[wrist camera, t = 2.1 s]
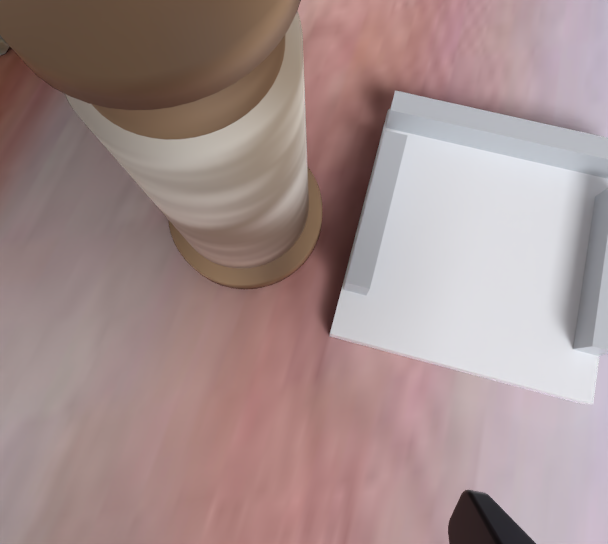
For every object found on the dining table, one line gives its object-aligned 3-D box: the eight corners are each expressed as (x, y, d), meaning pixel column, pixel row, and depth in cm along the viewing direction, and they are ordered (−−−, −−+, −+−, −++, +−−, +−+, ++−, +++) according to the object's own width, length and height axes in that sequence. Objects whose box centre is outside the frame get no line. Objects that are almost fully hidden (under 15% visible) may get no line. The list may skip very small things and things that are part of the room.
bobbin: (223, 318, 22) (45, 183, 8) (147, 198, 24) (-126, -111, 9) (351, 235, 23) (413, -35, 8) (269, 123, 24) (201, -274, 10)
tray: (579, 403, 21) (614, 405, 18) (329, 336, 22) (330, 329, 19) (612, 171, 23) (647, 146, 21) (385, 120, 24) (392, 90, 22)
